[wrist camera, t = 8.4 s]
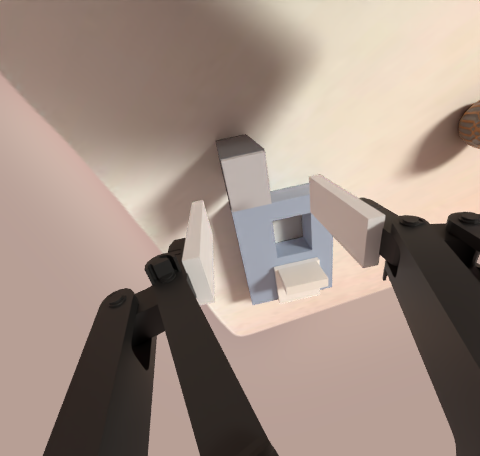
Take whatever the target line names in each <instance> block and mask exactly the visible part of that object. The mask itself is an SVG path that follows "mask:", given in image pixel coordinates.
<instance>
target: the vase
mask: <svg viewBox="0 0 480 456" xmlns="http://www.w3.org/2000/svg"><path fill="white" fill-rule="evenodd" d="M459 135H460V137H461V139H462V140H463V141H464V142H465V143H467V144H468V145H470V146H472V147H474V148H478V149H480V100H479V101H478V102H476V103H475V104H473V105H472V106H471V107H470V108H469V109H468V110H467V111H466V112H465V113H464V115H463V116H462V118H461V120H460V122H459Z"/></svg>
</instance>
